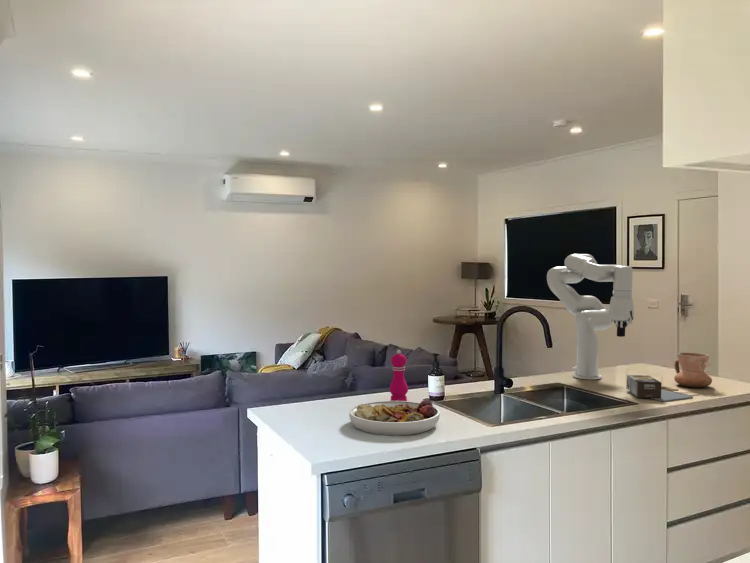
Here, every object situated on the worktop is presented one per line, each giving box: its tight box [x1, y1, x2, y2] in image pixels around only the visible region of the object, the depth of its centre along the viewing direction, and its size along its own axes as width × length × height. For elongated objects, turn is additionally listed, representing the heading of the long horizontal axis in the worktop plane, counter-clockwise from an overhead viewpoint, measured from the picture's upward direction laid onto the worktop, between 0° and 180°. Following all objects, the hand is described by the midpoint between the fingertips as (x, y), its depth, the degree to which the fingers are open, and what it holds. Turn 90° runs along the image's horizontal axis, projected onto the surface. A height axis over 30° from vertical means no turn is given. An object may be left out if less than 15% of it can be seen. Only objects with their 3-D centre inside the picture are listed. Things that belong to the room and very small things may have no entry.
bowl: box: [348, 398, 441, 437], centre depth 199 cm, size 30×30×8 cm
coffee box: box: [626, 374, 662, 399], centre depth 243 cm, size 9×6×16 cm
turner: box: [661, 384, 699, 397], centre depth 251 cm, size 20×5×1 cm, turn 24°
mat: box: [626, 389, 694, 403], centre depth 242 cm, size 18×16×1 cm
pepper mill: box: [389, 349, 409, 401], centre depth 234 cm, size 7×7×20 cm
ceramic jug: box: [674, 351, 713, 389], centre depth 261 cm, size 18×14×14 cm
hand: (620, 336), depth 260 cm, fingers closed
